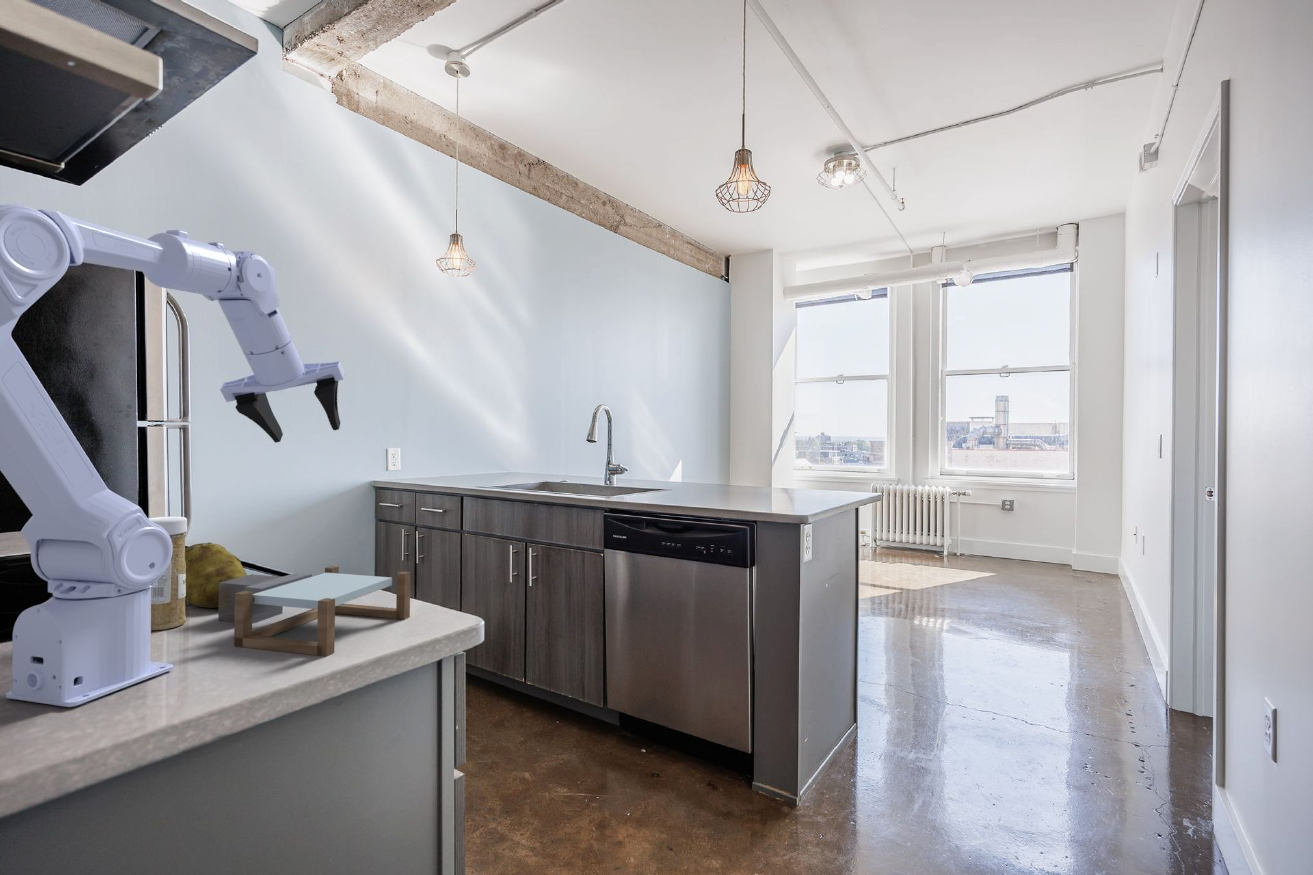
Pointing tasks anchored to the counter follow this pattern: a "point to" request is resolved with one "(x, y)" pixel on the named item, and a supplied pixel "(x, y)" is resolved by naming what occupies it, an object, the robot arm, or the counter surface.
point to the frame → (323, 613)
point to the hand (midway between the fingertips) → (308, 432)
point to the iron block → (238, 585)
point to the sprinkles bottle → (171, 579)
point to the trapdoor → (315, 589)
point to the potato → (209, 572)
